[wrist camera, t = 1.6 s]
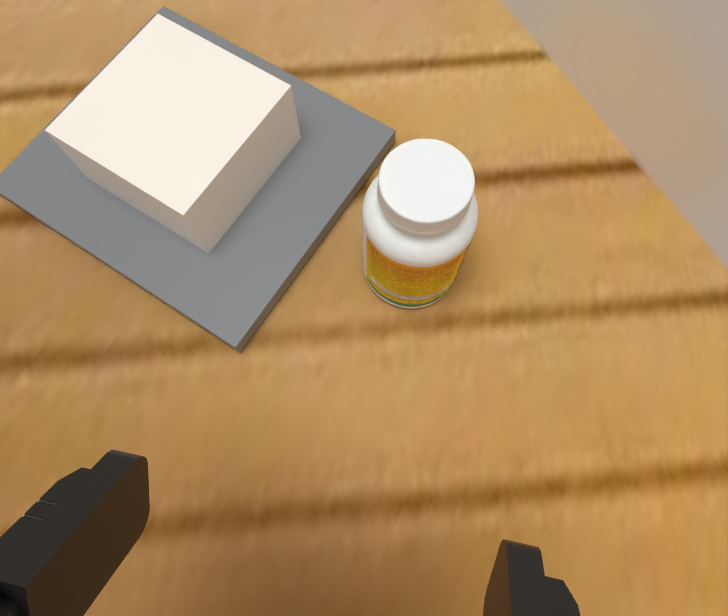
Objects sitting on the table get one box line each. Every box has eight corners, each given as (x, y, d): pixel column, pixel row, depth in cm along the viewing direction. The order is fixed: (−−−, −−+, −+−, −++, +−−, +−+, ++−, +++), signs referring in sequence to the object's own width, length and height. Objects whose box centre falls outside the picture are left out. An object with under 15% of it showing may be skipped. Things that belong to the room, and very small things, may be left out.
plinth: (87, 177, 33) (44, 129, 28) (183, 72, 35) (157, 13, 31) (208, 253, 31) (183, 215, 27) (300, 137, 33) (291, 85, 29)
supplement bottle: (354, 234, 33) (349, 134, 24) (443, 217, 33) (471, 111, 24) (374, 320, 31) (376, 248, 22) (467, 301, 31) (508, 222, 22)
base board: (1, 196, 34) (-12, 185, 32) (169, 20, 38) (163, 5, 37) (240, 353, 30) (235, 347, 29) (394, 142, 35) (395, 130, 33)
